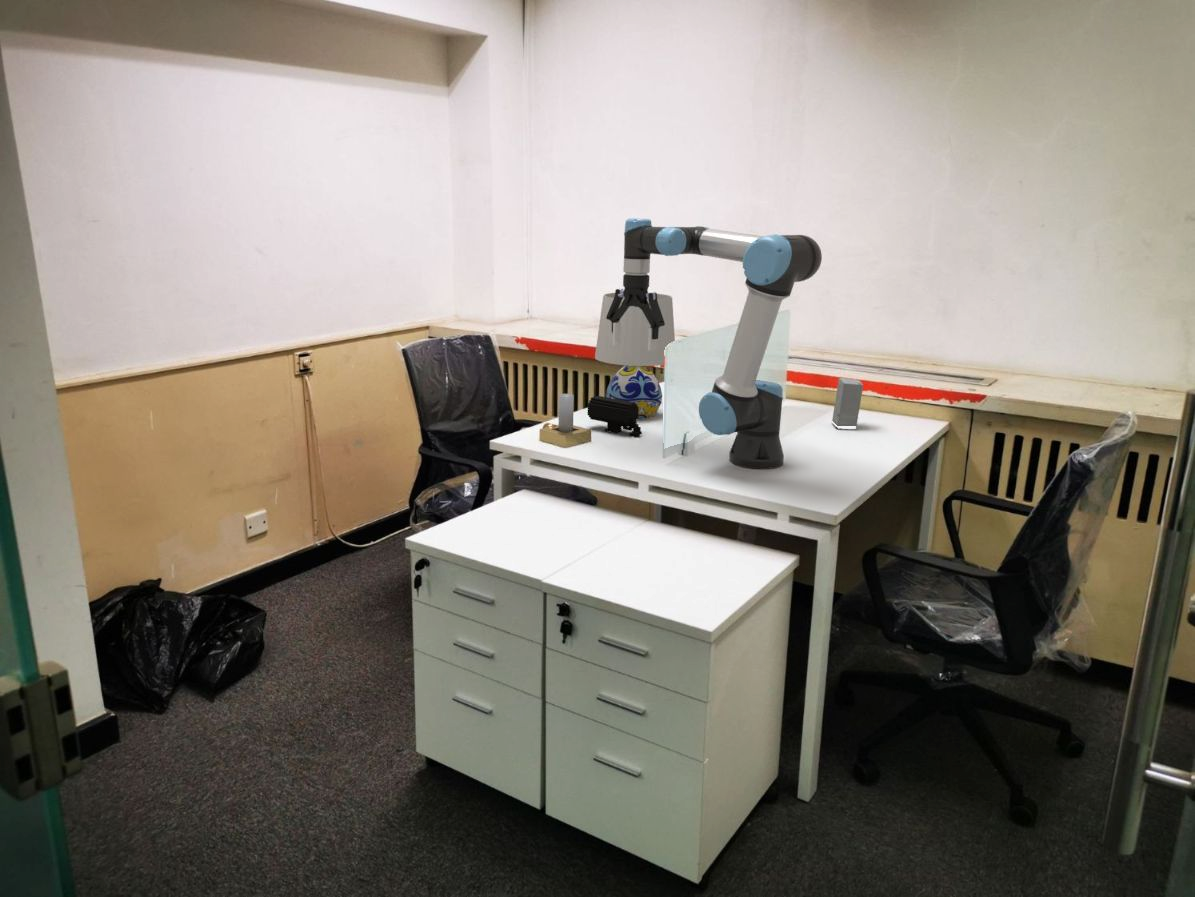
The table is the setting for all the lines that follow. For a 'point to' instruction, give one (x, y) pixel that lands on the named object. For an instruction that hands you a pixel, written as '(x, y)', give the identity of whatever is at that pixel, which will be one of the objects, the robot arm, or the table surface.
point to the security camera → (615, 414)
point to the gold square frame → (564, 435)
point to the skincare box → (847, 402)
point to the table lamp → (635, 354)
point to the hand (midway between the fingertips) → (634, 347)
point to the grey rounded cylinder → (566, 412)
